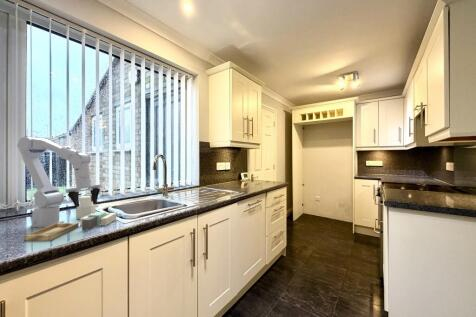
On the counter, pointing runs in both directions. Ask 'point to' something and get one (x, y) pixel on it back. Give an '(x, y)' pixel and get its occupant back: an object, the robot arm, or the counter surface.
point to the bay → (104, 220)
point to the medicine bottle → (85, 206)
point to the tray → (51, 232)
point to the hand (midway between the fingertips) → (86, 205)
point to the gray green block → (93, 220)
